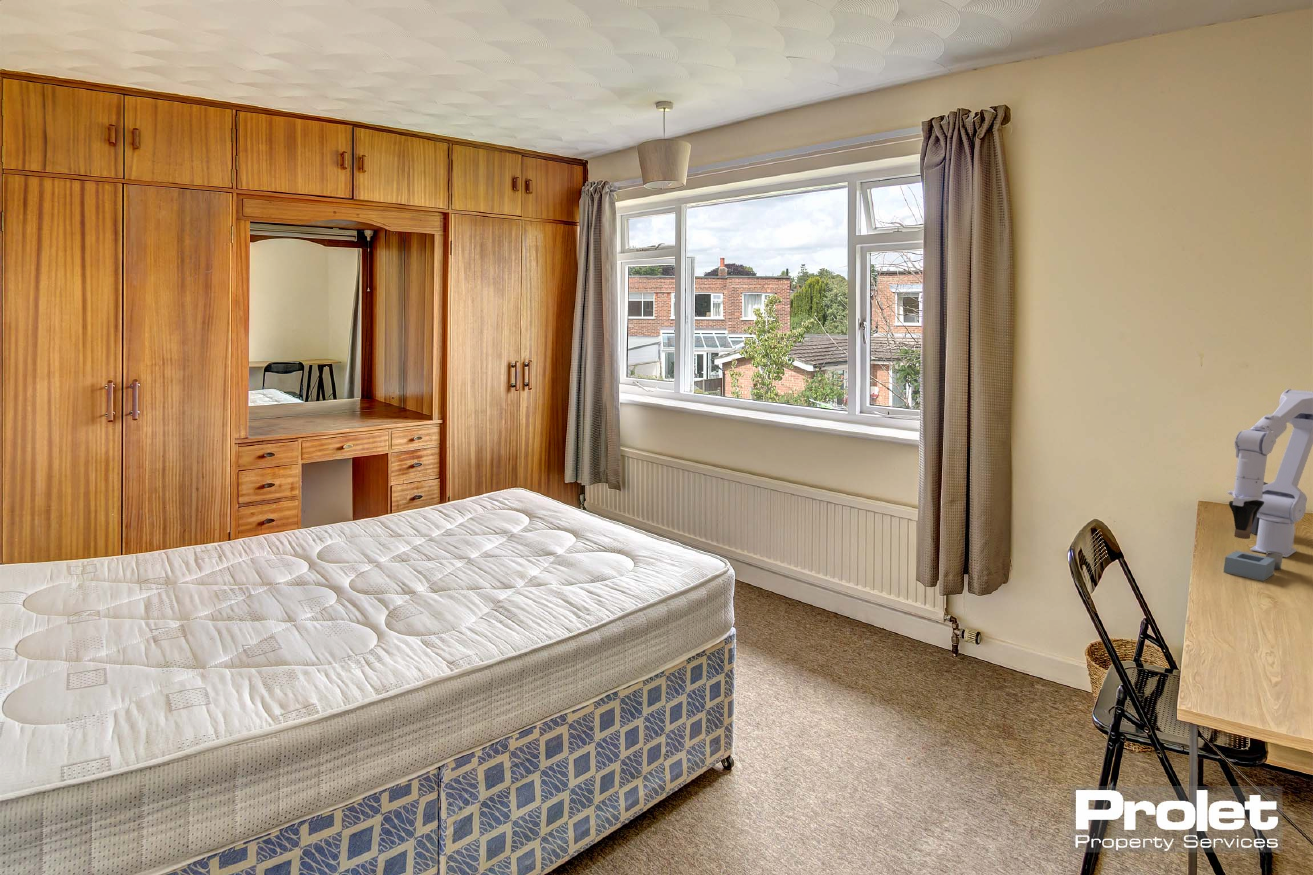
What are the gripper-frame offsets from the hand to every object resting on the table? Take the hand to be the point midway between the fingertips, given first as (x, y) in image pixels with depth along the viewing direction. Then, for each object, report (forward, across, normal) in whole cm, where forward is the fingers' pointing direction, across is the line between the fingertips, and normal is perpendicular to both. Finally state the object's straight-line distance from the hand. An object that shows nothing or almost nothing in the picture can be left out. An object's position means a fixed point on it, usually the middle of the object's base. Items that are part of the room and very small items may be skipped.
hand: (1243, 528), depth 193 cm
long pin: (+2, 0, 0) cm, 2 cm away
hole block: (+9, +10, +4) cm, 14 cm away
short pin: (+9, 0, +7) cm, 11 cm away
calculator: (+9, -36, -7) cm, 38 cm away
